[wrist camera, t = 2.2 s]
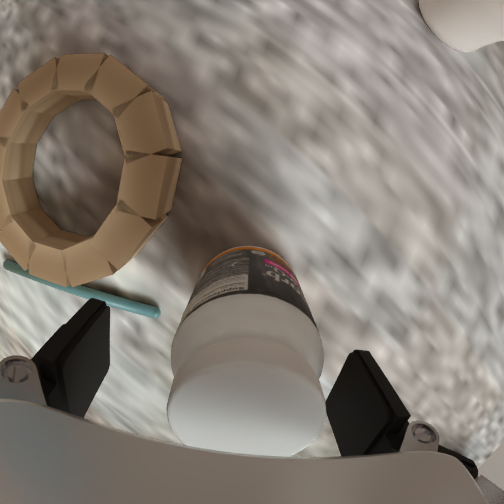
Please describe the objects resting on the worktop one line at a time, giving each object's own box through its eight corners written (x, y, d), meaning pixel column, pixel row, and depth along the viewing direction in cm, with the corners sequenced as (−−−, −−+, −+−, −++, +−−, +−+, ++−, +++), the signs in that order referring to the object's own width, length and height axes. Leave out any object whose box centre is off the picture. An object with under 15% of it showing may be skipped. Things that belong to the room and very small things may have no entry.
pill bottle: (315, 300, 17) (373, 427, 8) (236, 349, 18) (230, 487, 9) (259, 221, 16) (279, 304, 6) (176, 280, 17) (111, 400, 7)
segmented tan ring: (203, 77, 14) (194, 58, 11) (158, 287, 17) (143, 310, 14) (34, 71, 13) (7, 61, 10) (9, 243, 16) (-18, 255, 13)
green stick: (162, 306, 17) (159, 311, 17) (161, 316, 17) (158, 321, 17) (6, 257, 16) (1, 260, 16) (7, 266, 16) (1, 269, 16)
